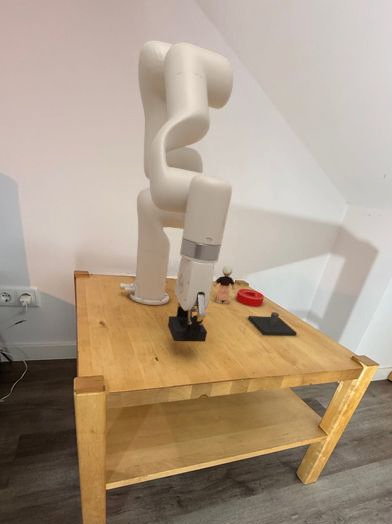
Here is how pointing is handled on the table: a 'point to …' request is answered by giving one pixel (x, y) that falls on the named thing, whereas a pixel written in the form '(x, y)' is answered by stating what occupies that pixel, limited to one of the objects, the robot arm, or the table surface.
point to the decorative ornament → (250, 297)
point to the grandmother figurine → (224, 285)
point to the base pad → (272, 325)
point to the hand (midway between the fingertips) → (186, 330)
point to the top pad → (183, 329)
